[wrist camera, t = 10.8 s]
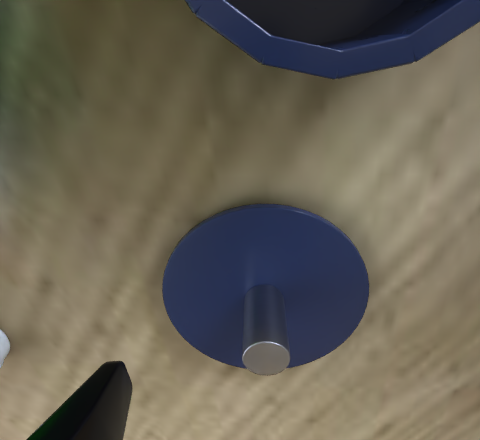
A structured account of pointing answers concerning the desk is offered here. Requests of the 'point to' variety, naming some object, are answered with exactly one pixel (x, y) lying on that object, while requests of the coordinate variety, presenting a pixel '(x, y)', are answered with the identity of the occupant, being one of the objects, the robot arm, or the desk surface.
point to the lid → (265, 287)
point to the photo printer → (3, 347)
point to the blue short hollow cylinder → (337, 31)
